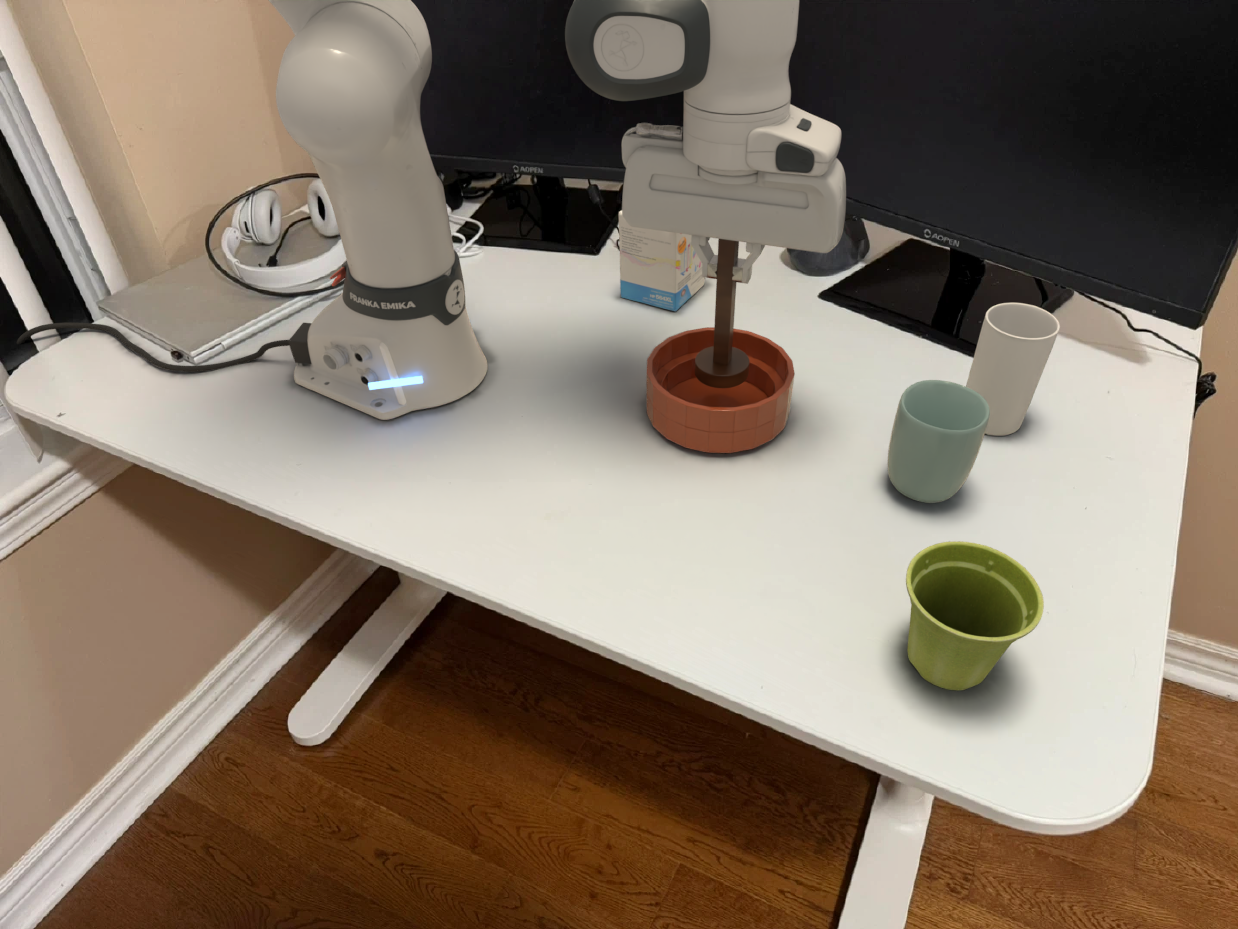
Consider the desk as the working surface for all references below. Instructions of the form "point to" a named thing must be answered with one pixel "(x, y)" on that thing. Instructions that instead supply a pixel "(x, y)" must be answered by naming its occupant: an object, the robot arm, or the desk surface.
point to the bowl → (718, 394)
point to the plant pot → (967, 611)
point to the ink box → (657, 266)
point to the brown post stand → (723, 329)
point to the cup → (936, 439)
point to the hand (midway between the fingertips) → (726, 277)
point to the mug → (1011, 361)
